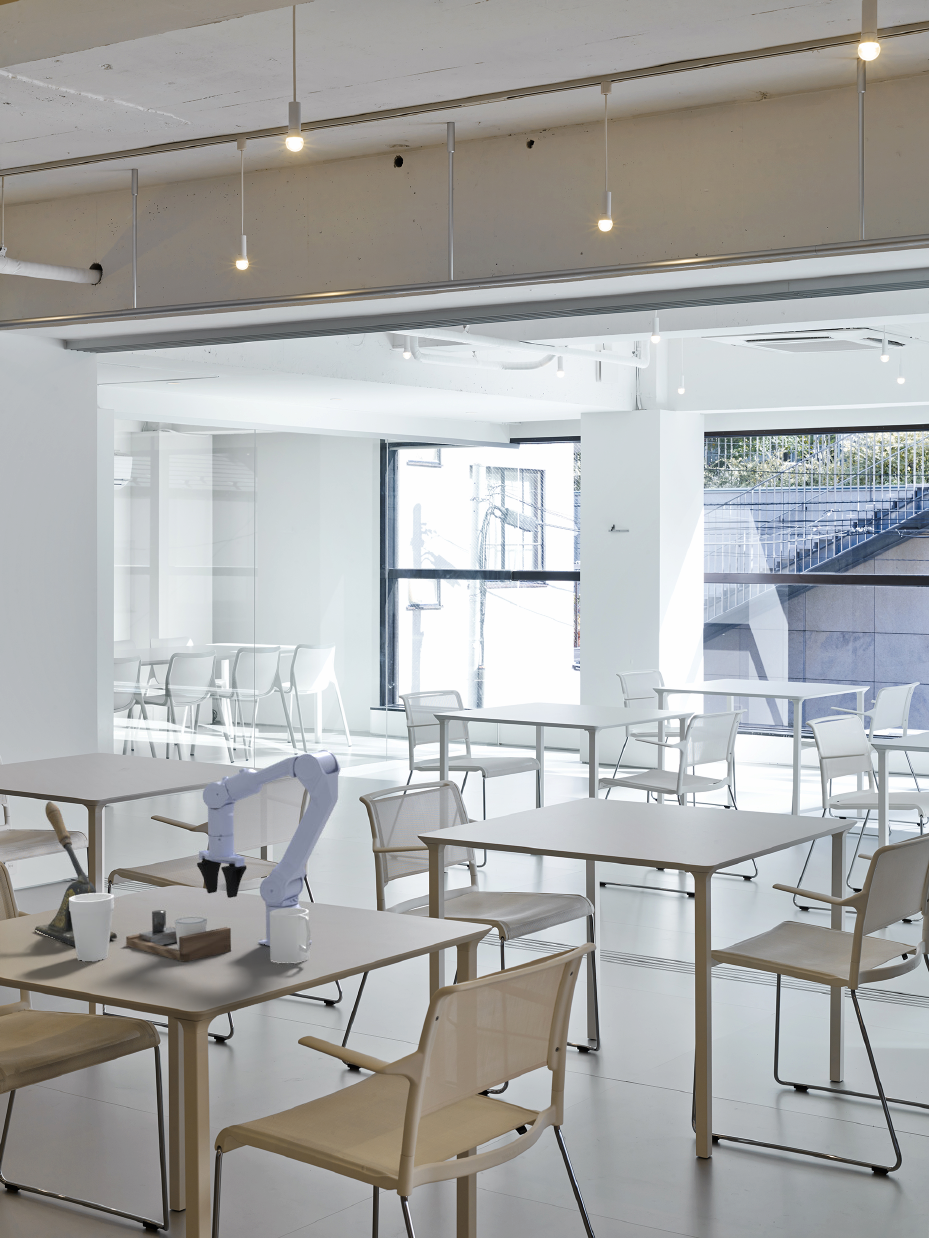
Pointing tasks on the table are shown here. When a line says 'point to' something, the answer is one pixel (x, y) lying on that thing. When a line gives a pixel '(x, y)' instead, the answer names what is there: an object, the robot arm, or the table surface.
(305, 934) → the cup
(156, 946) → the wooden tray
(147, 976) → the table surface
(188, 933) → the white tapered cylinder
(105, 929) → the foam cup
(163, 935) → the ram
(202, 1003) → the table surface
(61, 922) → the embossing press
